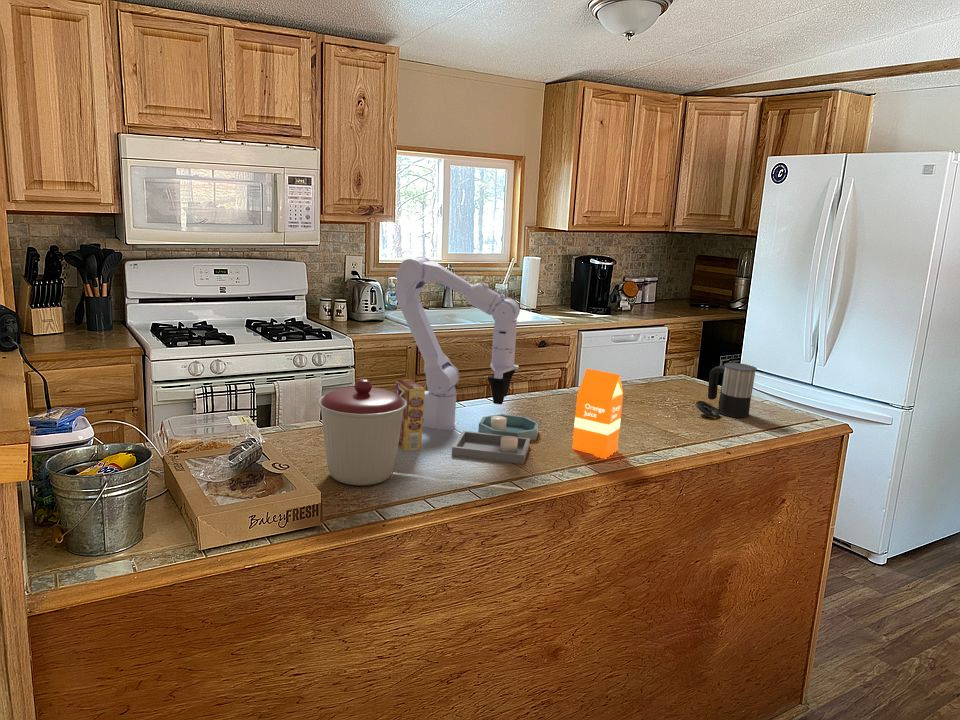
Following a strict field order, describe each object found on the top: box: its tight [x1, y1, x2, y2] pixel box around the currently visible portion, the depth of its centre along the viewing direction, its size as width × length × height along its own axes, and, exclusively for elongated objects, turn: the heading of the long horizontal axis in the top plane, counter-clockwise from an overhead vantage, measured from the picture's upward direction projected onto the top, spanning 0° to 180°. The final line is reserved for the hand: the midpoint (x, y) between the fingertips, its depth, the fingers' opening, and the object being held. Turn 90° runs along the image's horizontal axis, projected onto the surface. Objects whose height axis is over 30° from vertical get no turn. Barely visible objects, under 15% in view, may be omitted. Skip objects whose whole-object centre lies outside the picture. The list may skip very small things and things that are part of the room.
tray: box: [451, 430, 531, 465], centre depth 173 cm, size 17×13×2 cm
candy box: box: [395, 378, 426, 451], centre depth 173 cm, size 9×4×15 cm, turn 26°
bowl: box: [477, 413, 540, 442], centre depth 187 cm, size 15×15×3 cm
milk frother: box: [695, 362, 758, 419], centre depth 217 cm, size 14×16×15 cm
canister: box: [317, 378, 407, 486], centre depth 152 cm, size 18×18×21 cm
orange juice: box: [571, 368, 624, 460], centre depth 177 cm, size 8×9×20 cm
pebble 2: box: [500, 436, 518, 453], centre depth 172 cm, size 4×4×4 cm
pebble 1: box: [490, 416, 507, 431], centre depth 187 cm, size 4×4×4 cm
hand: (500, 399), depth 186 cm, fingers open, 7 cm apart
